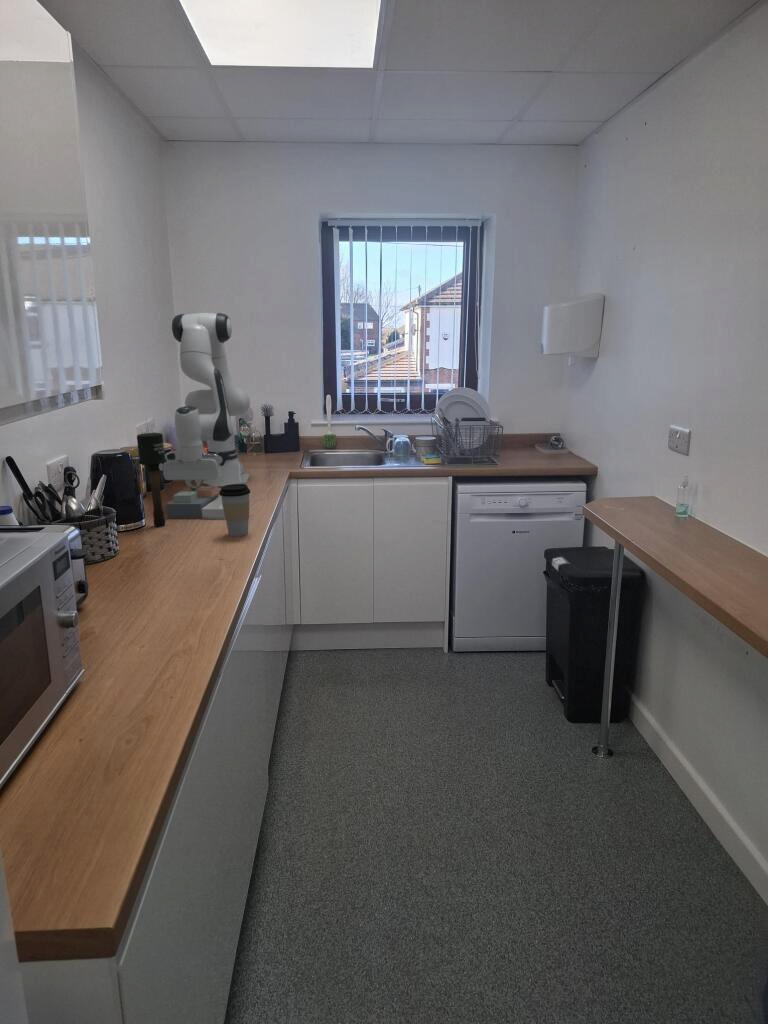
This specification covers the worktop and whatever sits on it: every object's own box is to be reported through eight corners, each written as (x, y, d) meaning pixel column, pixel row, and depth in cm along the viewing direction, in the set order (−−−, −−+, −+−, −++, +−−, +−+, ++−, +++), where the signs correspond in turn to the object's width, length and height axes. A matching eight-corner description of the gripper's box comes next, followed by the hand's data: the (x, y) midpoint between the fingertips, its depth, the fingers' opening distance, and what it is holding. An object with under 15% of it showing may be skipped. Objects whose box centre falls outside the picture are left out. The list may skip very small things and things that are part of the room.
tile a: (201, 493, 241) (201, 486, 240) (218, 493, 240) (217, 486, 240) (195, 497, 235) (195, 490, 234) (212, 497, 235) (211, 490, 234)
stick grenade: (165, 529, 214) (154, 436, 206) (140, 528, 216) (129, 436, 208) (178, 522, 222) (168, 432, 214) (154, 521, 224) (144, 432, 216)
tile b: (181, 498, 234) (180, 491, 233) (197, 498, 233) (196, 491, 233) (174, 502, 228) (173, 495, 227) (191, 502, 227) (190, 495, 227)
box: (221, 504, 245) (220, 495, 244) (248, 504, 244) (247, 495, 243) (202, 519, 225) (201, 509, 224) (231, 519, 224) (230, 509, 224)
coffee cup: (259, 530, 210) (255, 484, 206) (243, 539, 202) (239, 490, 198) (233, 528, 213) (229, 482, 209) (216, 536, 205) (212, 489, 201)
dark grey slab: (187, 505, 245) (186, 491, 244) (219, 505, 244) (218, 491, 242) (167, 518, 227) (166, 504, 226) (202, 518, 226) (200, 504, 225)
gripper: (222, 451, 236) (225, 490, 240) (166, 452, 238) (170, 490, 242) (216, 455, 230) (219, 494, 234) (159, 455, 232) (163, 494, 236)
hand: (194, 492), depth 238 cm, fingers closed
